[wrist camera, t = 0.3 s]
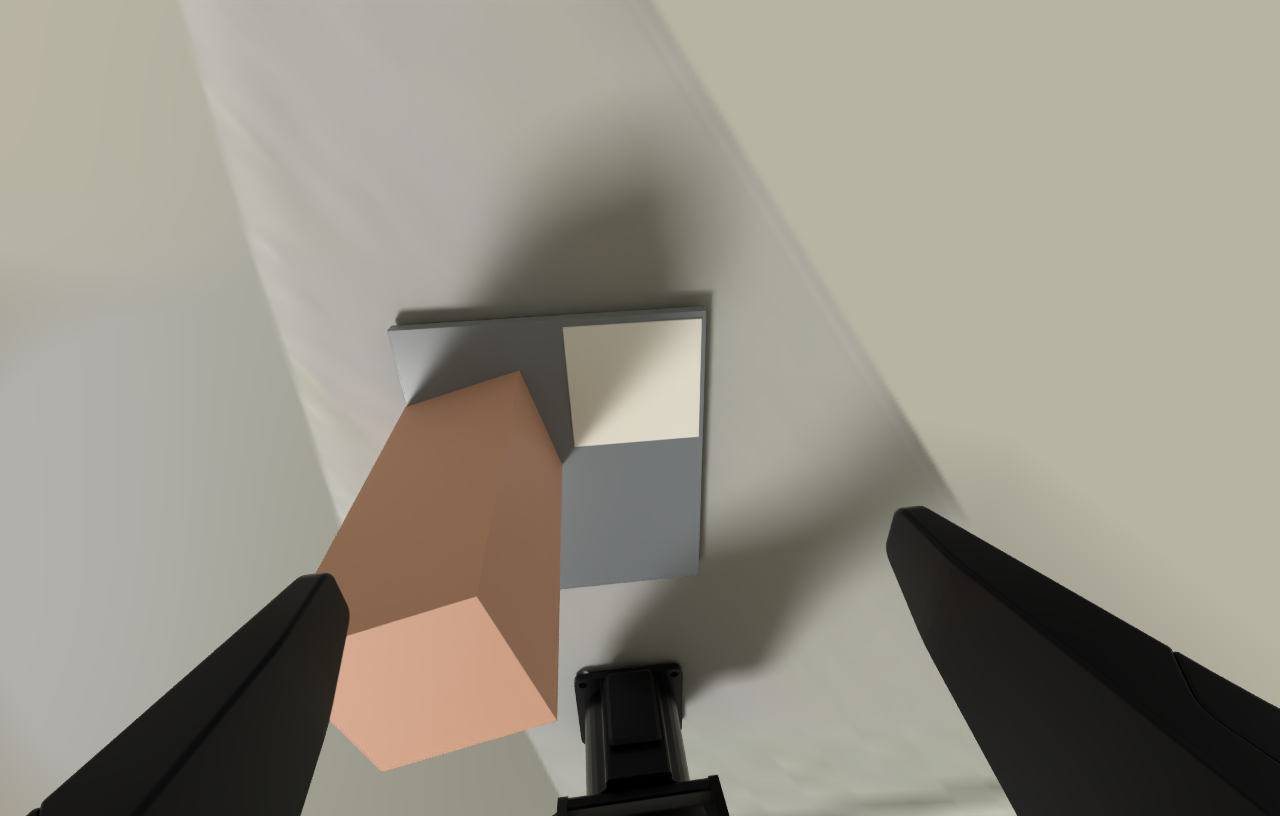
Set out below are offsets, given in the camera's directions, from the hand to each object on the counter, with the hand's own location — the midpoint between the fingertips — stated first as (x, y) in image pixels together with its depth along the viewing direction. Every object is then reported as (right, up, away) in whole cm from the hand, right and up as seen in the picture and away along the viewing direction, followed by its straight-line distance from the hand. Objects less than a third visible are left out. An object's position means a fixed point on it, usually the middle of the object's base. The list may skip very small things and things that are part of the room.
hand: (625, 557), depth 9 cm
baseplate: (-3, 0, +17) cm, 17 cm away
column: (-6, +1, +15) cm, 17 cm away
